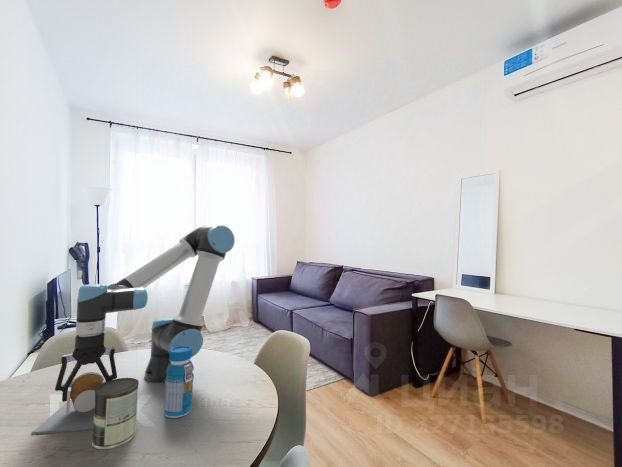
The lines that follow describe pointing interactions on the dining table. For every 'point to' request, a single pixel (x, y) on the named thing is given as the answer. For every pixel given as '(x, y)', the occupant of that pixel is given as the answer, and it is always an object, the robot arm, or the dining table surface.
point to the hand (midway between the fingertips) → (86, 406)
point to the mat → (67, 421)
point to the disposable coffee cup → (85, 391)
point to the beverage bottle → (179, 382)
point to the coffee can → (115, 413)
